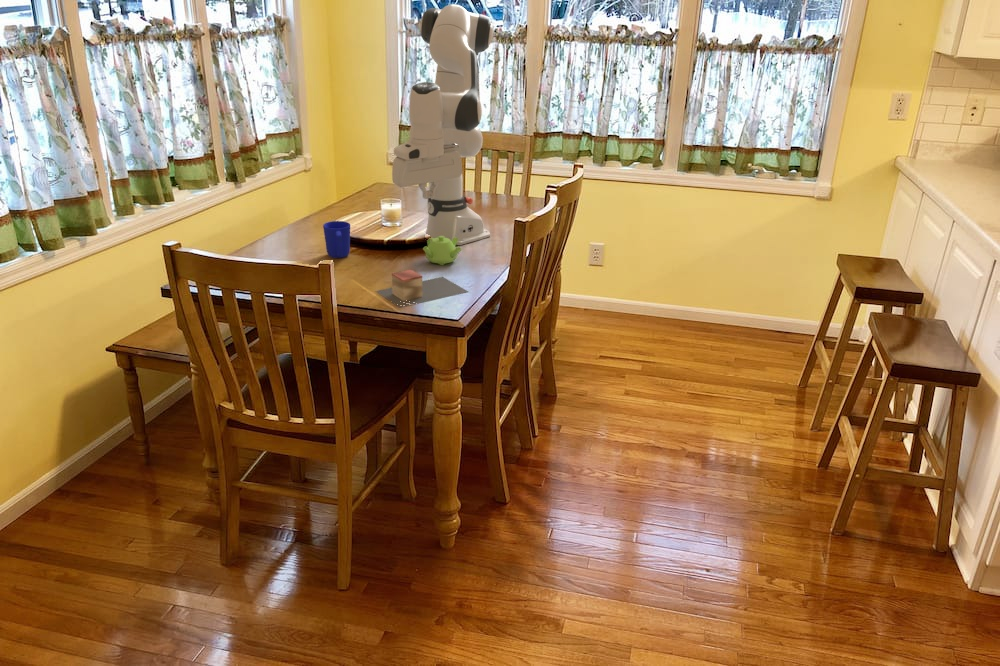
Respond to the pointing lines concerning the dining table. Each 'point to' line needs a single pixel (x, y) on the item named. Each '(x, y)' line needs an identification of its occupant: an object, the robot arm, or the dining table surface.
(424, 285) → the mat
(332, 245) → the mug
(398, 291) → the cube
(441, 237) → the teapot
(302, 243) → the dining table surface
